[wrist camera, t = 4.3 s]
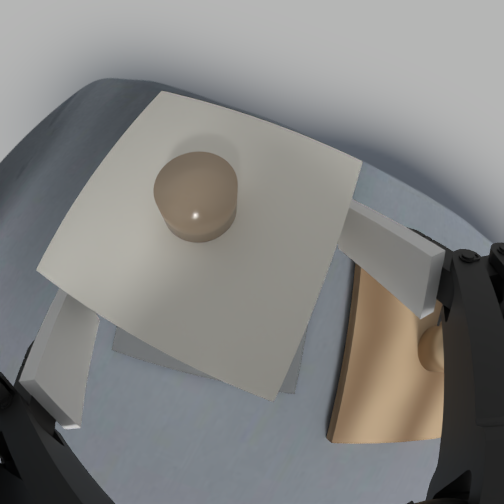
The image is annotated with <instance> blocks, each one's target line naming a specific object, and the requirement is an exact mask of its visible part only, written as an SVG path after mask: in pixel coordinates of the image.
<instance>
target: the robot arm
mask: <svg viewBox="0 0 504 504" xmlns="http://www.w3.org/2000/svg"><path fill="white" fill-rule="evenodd" d="M338 249H340V250H341V251H342V252H343V253H345V254H346V255H347V256H348V257H349V258H351V259H352V260H353V261H354V262H355V263H357V264H358V265H359V266H360V267H361V268H363V269H364V270H365V271H366V272H367V273H368V274H370V275H371V276H372V277H373V278H374V279H375V280H377V281H378V282H379V283H380V284H381V285H382V286H384V287H385V288H386V289H387V290H388V291H389V292H390V293H392V294H393V295H394V296H395V297H396V298H397V299H398V300H399V301H401V302H402V303H403V304H404V305H405V306H406V307H407V308H408V309H410V310H411V311H412V312H413V313H414V314H415V315H416V316H417V317H418V318H419V319H422V318H424V317H425V316H427V315H429V314H431V313H432V312H434V308H435V304H436V299H437V300H438V301H440V302H441V303H442V307H441V311H440V315H439V318H438V322H437V326H439V325H440V322H441V321H442V334H443V352H444V404H443V421H442V433H441V443H440V452H439V459H438V465H437V468H436V471H435V473H434V475H433V477H432V479H431V482H430V485H429V488H428V492H427V497H426V501H422V502H418V503H415V504H504V243H494V244H492V245H491V249H490V254H489V255H488V256H483V257H481V256H480V255H479V254H477V253H476V252H474V251H471V250H467V249H459V250H456V251H454V252H453V251H451V250H450V249H448V248H446V247H445V246H443V245H441V244H440V243H438V242H436V241H435V240H432V239H431V238H430V237H428V236H425V235H424V234H423V233H421V232H419V231H417V230H414V229H411V228H407V227H405V226H403V225H401V224H399V223H397V222H395V221H394V220H392V219H390V218H388V217H386V216H384V215H383V214H381V213H379V212H377V211H375V210H373V209H371V208H369V207H367V206H365V205H363V204H361V203H359V202H357V201H355V200H353V199H352V200H351V203H350V207H349V210H348V213H347V216H346V219H345V222H344V225H343V228H342V232H341V235H340V238H339V241H338ZM99 321H100V319H99V318H98V316H97V314H96V312H94V311H93V310H91V309H90V308H88V307H87V306H85V305H84V304H82V303H81V302H79V301H78V300H76V299H75V298H73V297H72V296H71V295H69V294H68V293H66V292H65V291H63V290H62V289H61V288H59V290H58V292H57V294H56V296H55V298H54V300H53V302H52V304H51V306H50V308H49V310H48V312H47V314H46V316H45V318H44V320H43V323H42V325H41V327H40V329H39V332H38V334H37V336H36V339H35V340H34V341H33V342H32V344H31V345H30V346H29V348H28V350H27V352H26V355H25V359H24V360H23V362H22V366H21V367H20V370H19V373H18V375H17V378H16V381H15V384H14V387H13V386H12V384H11V383H10V382H9V381H8V380H7V379H6V377H5V376H4V375H3V374H2V372H0V458H1V463H0V504H115V503H114V502H113V501H112V500H111V498H110V497H109V496H108V495H107V494H106V493H105V492H104V491H103V490H102V488H101V487H100V486H99V485H98V484H97V482H96V481H95V480H94V479H93V478H92V476H91V475H90V474H89V473H88V471H87V470H86V469H85V468H84V466H83V465H82V464H81V462H80V461H79V460H78V458H77V457H76V456H75V454H74V453H73V452H72V450H71V449H70V447H69V446H68V444H67V443H66V442H65V440H64V439H63V437H62V436H61V434H60V433H59V432H58V431H57V430H56V429H55V422H56V421H57V422H58V423H59V424H60V425H61V426H62V427H63V428H65V429H74V428H81V421H82V412H83V405H84V398H85V391H86V385H87V379H88V373H89V368H90V363H91V358H92V353H93V348H94V343H95V339H96V334H97V330H98V326H99ZM407 504H414V503H413V501H411V502H409V503H407Z"/></svg>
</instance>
